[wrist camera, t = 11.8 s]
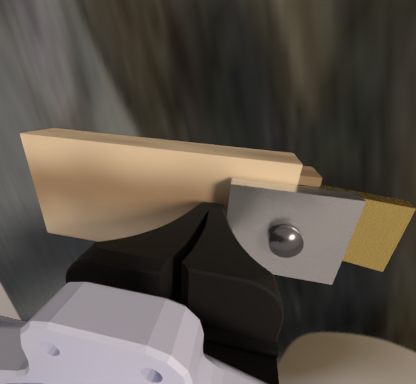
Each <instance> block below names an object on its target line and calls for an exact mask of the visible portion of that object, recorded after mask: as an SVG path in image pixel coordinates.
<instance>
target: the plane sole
mask: <svg viewBox="0 0 416 384" xmlns="http://www.w3.org/2000/svg"><path fill="white" fill-rule="evenodd" d="M20 136H21V140H22V143H23V147H24V150H25V154H26V157H27V161H28V165H29V168H30V172H31V175H32V179H33V182H34V186H35V189H36V193H37V196H38V200H39V204H40V207H41V211H42V214H43V218H44V221H45V225H46V228H47V232H48V233H53V234H59V235H64V236H70V237H76V238H81V239H87V240H92V241H98V242H100V241H107V240H114V239H120V238H125V237H130V236H134V235H138V234H141V233H144V232H147V231H150V230H153V229H156V228H159V227H161V226H164V225H166V224H168V223H170V222H172V221H174V220H176V219H177V218H179V217H181V216H182V215H184V214H186V213H187V212H189V211H190V210H192V209H193V208H194V207H196V206H197V205H199V204H200V203H201V202H210V203H217V204H223V205H224V206H225V213H226V217H227V211H228V203H229V194H230V186H231V181H232V177H235V178H243V179H251V180H260V181H268V182H276V183H284V184H292V185H298V184H299V185H307V186H315V187H320V185H321V181H322V177H321V176H320V175H319V174H318V173H317V172H316V170H315V169H314V168H313V167H308V166H303V165H302V163H301V162H300V161H299V160H298V158H297V157H296V156H295V155H294V153H287V152H277V151H268V150H258V149H249V148H239V147H230V146H220V145H211V144H201V143H192V142H182V141H173V140H163V139H154V138H145V137H135V136H126V135H116V134H107V133H97V132H88V131H78V130H69V129H59V128H51V129H45V130H38V131H32V132H25V133H20Z"/></svg>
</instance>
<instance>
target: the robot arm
mask: <svg viewBox="0 0 416 384" xmlns="http://www.w3.org/2000/svg"><path fill="white" fill-rule="evenodd" d="M283 319H284V307H283V302H282V298H281V295H280V292H279V289H278V286H277V283H276V280H275V278H274V275H273V274H272V273H271V272H270V271H268V270H267V269H266V268H264V267H263V266H262V265H260V264H259V263H258V262H257V261H255V260H254V259H253V258H252V257H251V256H250V255H249V254H248V253H247V252H246V251H245V249H244V248H243V247H242V246H241V244H240V243H239V242H238V240H237V239H236V237H235V235H234V233H233V232H232V230H231V228H230V225H229V223H228V220H227V217H226V213H225V206H224V205H223V204H217V203H210V202H201V203H200V204H199V205H197V206H196V207H194V208H193V209H192V210H190V211H189V212H187V213H186V214H184V215H182V216H181V217H179V218H177V219H176V220H174V221H172V222H170V223H168V224H166V225H164V226H161V227H159V228H156V229H153V230H150V231H147V232H144V233H141V234H138V235H134V236H130V237H125V238H120V239H114V240H107V241H100V242H96V243H94V244H93V245H92V246H91V247H90V248H89V249H88V250H87V251H86V252H85V253H84V254H82V255H81V256H80V257H79V258H78V259H77V260H76V261H75V262H74V263H73V264H72V265H71V266H70V267H69V269H68V270H67V273H66V285H64V286H63V287H62V288H61V289H59V290H58V291H57V292H56V293H55V294H54V295H53V296H52V297H51V298H50V299H49V300H48V301H47V302H46V303H45V304H44V305H43V306H42V307H41V308H40V309H39V310H38V311H37V312H36V313H35V314H34V315H33V316H32V317H31V318H30V319H29V320H28V321H27V322H25V321H21V320H16V319H12V318H8V317H4V316H0V384H279V380H278V370H277V360H276V358H277V357H278V346H277V339H278V336H279V333H280V329H281V326H282V323H283Z"/></svg>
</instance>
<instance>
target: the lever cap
mask: <svg viewBox="0 0 416 384" xmlns="http://www.w3.org/2000/svg"><path fill="white" fill-rule="evenodd" d="M365 203H366V201H365V200H364V199H363V198H362V197H361V196H360V195H358V194H357V193H356V192H348V191H340V190H332V189H324V188H316V187H308V186H300V185H292V184H284V183H276V182H268V181H260V180H251V179H243V178H235V177H232V181H231V186H230V194H229V203H228V211H227V220H228V223H229V225H230V228H231V230H232V232H233V233H234V235H235V237H236V239H237V240H238V242H239V243H240V244H241V246H242V247H243V248H244V249H245V251H246V252H247V253H248V254H249V255H250V256H251V257H252V258H253V259H254V260H255V261H257V262H258V263H259V264H260V265H262V266H263V267H264V268H266V269H267V270H268V271H270V272H271V273H272V274H275V275H281V276H286V277H292V278H297V279H303V280H308V281H314V282H319V283H325V284H331V285H332V284H333V281H334V279H335V276H336V274H337V271H338V269H339V267H340V264H341V262H342V259H343V257H344V254H345V252H346V249H347V247H348V245H349V242H350V240H351V237H352V235H353V232H354V230H355V228H356V225H357V223H358V220H359V218H360V215H361V213H362V211H363V208H364V206H365Z"/></svg>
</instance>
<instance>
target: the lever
mask: <svg viewBox="0 0 416 384" xmlns="http://www.w3.org/2000/svg"><path fill="white" fill-rule="evenodd" d="M304 186H307V185H304ZM308 187H315V186H308ZM316 188H324V189H332V190H340V191H348V192H356V193H357V194H358V195H360V196H361V197H362V198H363V199H364V200H365V201H366V203H365V206H364V208H363V211H362V213H361V215H360V218H359V220H358V223H357V225H356V228H355V230H354V232H353V235H352V237H351V240H350V242H349V245H348V247H347V249H346V252H345V254H344V257H343V259H342V261H346V262H350V263H353V264H357V265H360V266H364V267H367V268H371V269H375V270H378V271H382V272H383V271H384V269H385V267H386V265H387V263H388V261H389V259H390V257H391V255H392V253H393V252H394V250H395V248H396V246H397V244H398V242H399V240H400V238H401V236H402V234H403V232H404V231H405V229H406V227H407V225H408V223H409V221H410V219H411V217H412V215H413V213H414V211H415V210H416V208H415V207H414V206H413V205H412V204H411V203H409V202H408V201H407V200H401V199H396V198H391V197H385V196H380V195H374V194H369V193H364V192H358V191H353V190H347V189H342V188H337V187H331V186H326V185H320V187H316Z"/></svg>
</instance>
